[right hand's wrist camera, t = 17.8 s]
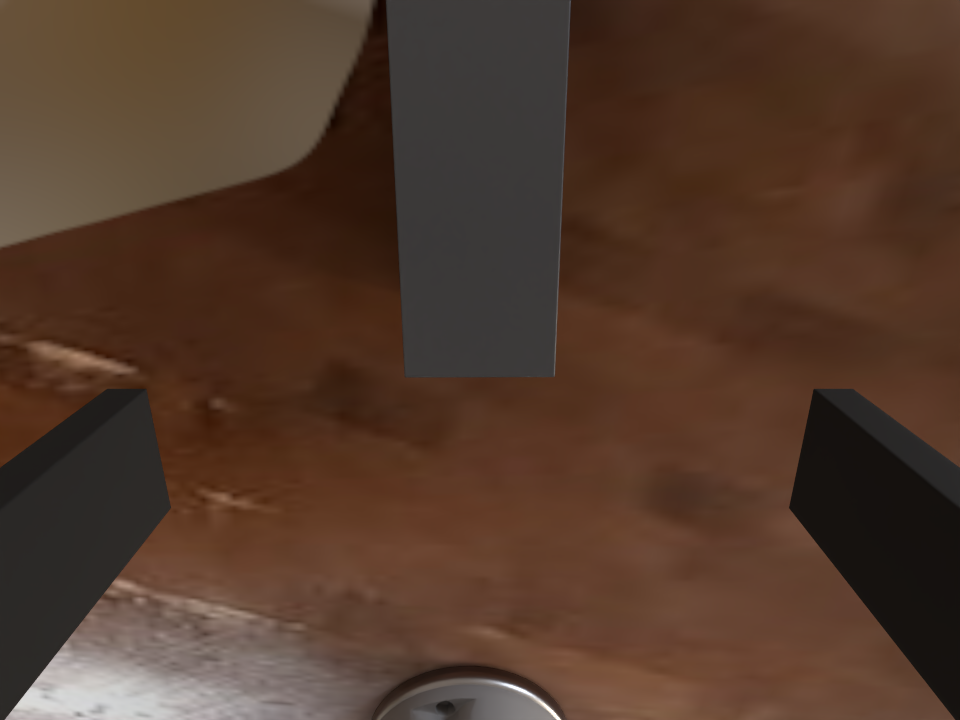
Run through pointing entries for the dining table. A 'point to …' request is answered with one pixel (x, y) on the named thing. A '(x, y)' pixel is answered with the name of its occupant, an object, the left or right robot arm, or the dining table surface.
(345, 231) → the dining table surface
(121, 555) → the right robot arm
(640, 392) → the dining table surface
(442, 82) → the box
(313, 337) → the dining table surface
